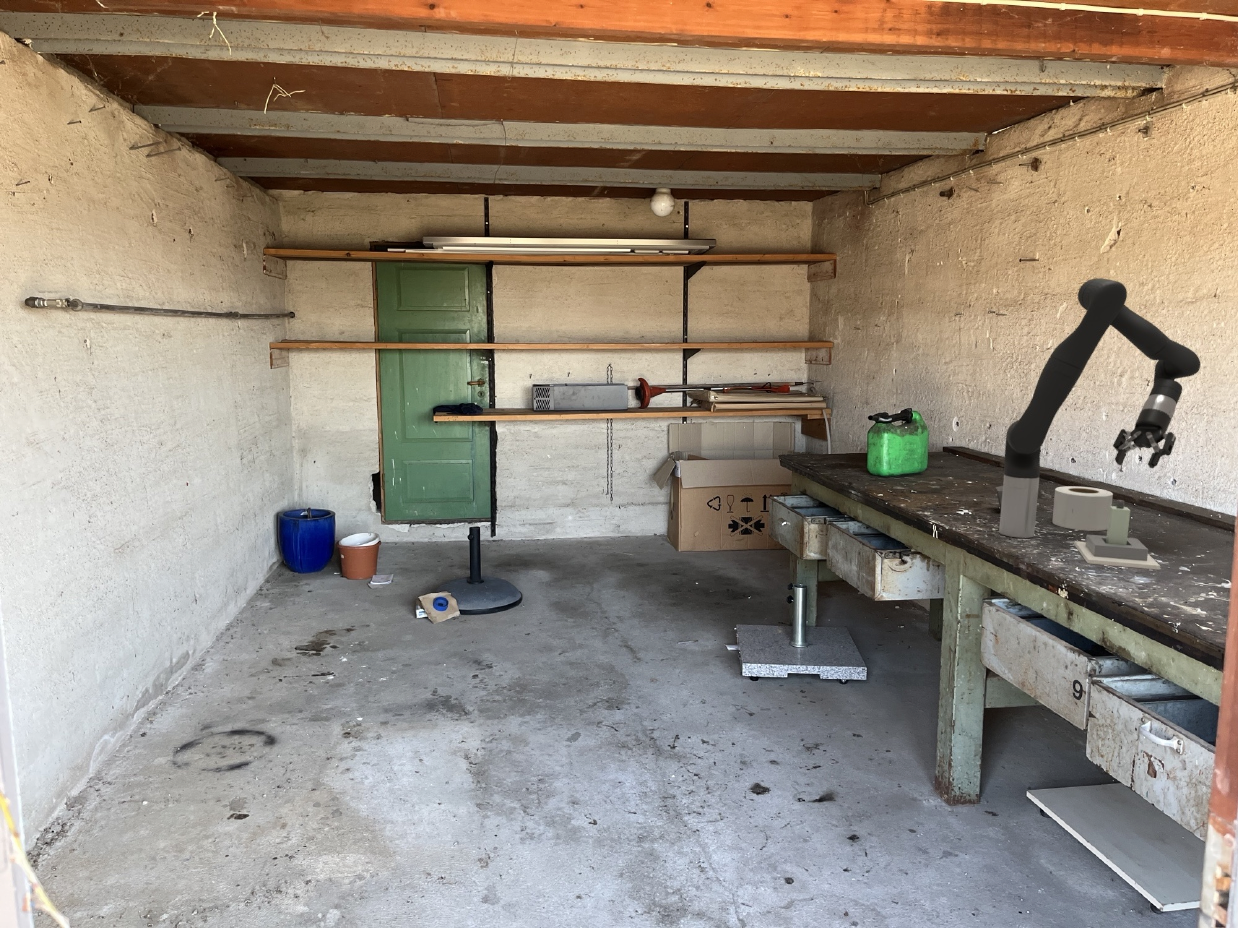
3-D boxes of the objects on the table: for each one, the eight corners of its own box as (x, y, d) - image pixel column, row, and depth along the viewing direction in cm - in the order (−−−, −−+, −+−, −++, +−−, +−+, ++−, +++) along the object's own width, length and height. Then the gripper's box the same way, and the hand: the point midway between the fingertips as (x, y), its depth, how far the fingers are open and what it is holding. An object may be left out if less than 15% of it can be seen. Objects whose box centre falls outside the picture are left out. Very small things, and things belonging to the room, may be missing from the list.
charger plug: (1105, 550, 229) (1110, 498, 226) (1122, 551, 227) (1127, 499, 225) (1107, 553, 225) (1113, 501, 223) (1125, 555, 224) (1131, 502, 221)
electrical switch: (1016, 515, 274) (1015, 487, 273) (998, 516, 276) (998, 487, 274) (1012, 510, 283) (1012, 482, 282) (995, 510, 284) (995, 482, 283)
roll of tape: (1076, 532, 253) (1080, 496, 252) (1040, 520, 268) (1044, 486, 266) (1121, 530, 256) (1125, 494, 255) (1084, 518, 271) (1087, 485, 270)
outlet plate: (1074, 544, 238) (1075, 530, 237) (1140, 550, 233) (1141, 535, 232) (1087, 563, 219) (1089, 548, 219) (1159, 569, 214) (1161, 554, 214)
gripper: (1124, 406, 240) (1102, 455, 237) (1178, 408, 228) (1156, 460, 225) (1135, 421, 244) (1113, 469, 241) (1189, 423, 232) (1167, 475, 228)
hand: (1134, 465), depth 233 cm, fingers open, 8 cm apart
